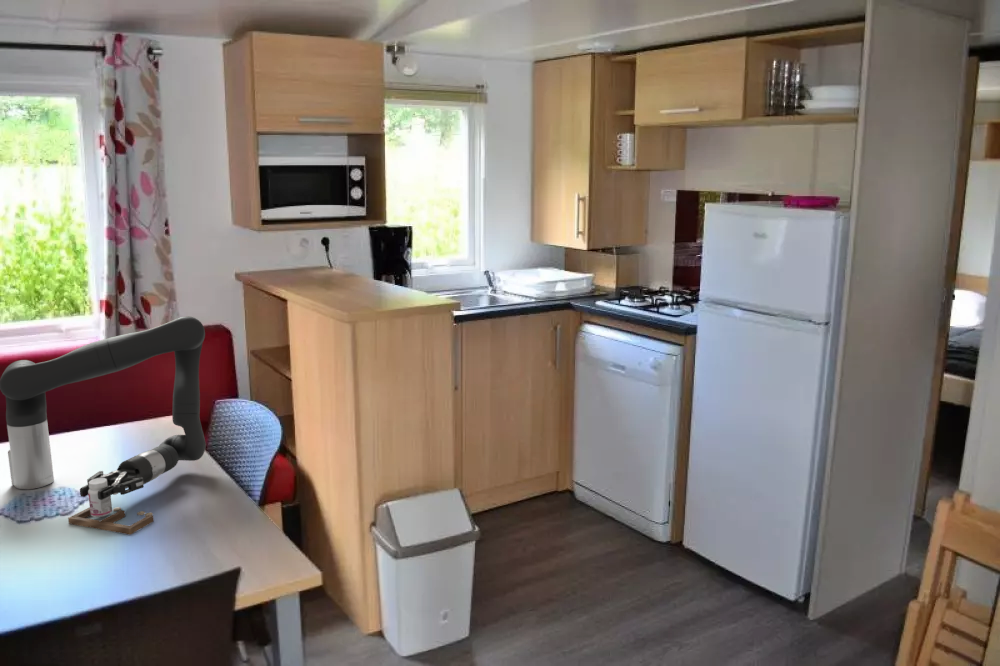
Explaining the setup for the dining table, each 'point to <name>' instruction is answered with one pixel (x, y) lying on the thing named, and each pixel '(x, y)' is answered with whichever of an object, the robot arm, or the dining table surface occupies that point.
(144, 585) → the dining table surface
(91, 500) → the pill bottle
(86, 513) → the slot rack
